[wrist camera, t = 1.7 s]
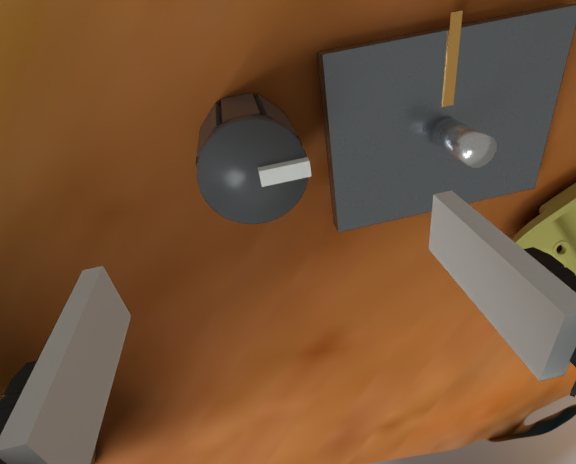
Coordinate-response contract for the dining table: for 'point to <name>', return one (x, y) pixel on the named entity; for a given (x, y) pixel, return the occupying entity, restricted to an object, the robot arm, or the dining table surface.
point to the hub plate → (441, 113)
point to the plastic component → (554, 229)
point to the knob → (250, 160)
